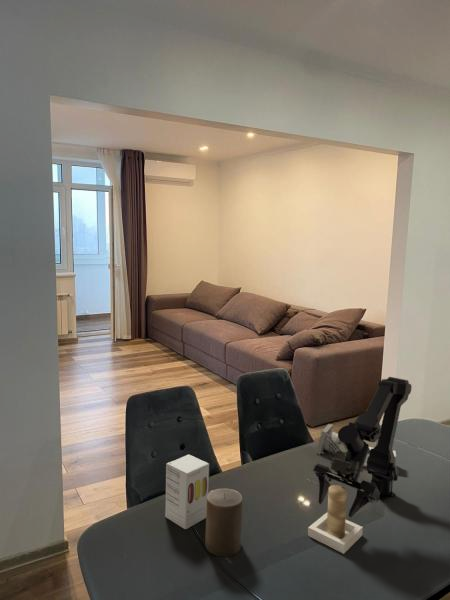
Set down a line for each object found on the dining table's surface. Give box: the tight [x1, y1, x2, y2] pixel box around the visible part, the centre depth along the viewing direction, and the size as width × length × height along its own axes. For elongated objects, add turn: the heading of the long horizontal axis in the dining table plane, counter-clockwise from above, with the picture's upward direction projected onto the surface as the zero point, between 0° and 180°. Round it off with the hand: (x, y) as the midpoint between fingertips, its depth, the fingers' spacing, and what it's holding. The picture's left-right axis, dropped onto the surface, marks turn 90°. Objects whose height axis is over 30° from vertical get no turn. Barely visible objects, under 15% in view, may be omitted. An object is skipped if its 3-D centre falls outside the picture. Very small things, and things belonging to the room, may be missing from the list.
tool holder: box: [307, 512, 364, 555], centre depth 126 cm, size 11×11×2 cm
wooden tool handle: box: [326, 484, 348, 539], centre depth 126 cm, size 5×5×13 cm
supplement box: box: [164, 454, 210, 530], centre depth 133 cm, size 10×9×17 cm
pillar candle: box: [204, 488, 243, 558], centre depth 121 cm, size 10×10×15 cm
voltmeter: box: [315, 423, 343, 465], centre depth 174 cm, size 27×11×10 cm, turn 6°
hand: (334, 510), depth 125 cm, fingers open, 9 cm apart
